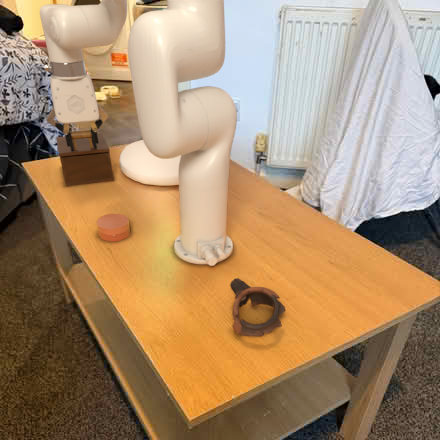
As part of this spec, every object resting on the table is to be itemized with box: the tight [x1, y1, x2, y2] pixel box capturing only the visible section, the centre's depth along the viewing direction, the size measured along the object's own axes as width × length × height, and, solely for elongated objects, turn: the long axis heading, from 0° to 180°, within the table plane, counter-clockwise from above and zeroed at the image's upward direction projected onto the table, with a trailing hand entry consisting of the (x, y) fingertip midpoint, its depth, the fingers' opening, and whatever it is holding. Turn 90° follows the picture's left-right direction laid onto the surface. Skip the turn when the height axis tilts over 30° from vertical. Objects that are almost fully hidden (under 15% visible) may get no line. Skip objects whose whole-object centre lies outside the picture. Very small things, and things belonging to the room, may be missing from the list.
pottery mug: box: [229, 277, 286, 338], centre depth 69 cm, size 12×10×8 cm
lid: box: [55, 129, 111, 158], centre depth 110 cm, size 14×13×5 cm
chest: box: [59, 151, 115, 187], centre depth 114 cm, size 14×13×8 cm
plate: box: [118, 139, 181, 187], centre depth 118 cm, size 28×6×27 cm
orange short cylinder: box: [96, 213, 131, 242], centre depth 91 cm, size 7×7×3 cm
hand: (83, 146), depth 107 cm, fingers closed on lid, 5 cm apart
